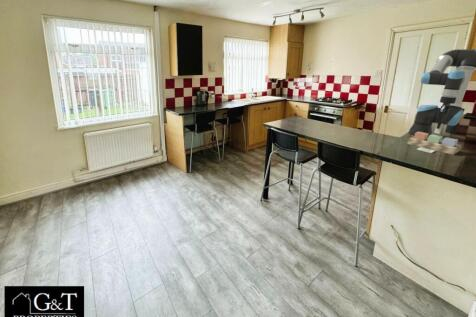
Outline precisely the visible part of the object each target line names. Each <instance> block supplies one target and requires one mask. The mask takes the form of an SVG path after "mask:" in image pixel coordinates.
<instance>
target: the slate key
mask: <svg viewBox="0 0 476 317" xmlns="http://www.w3.org/2000/svg"><path fill="white" fill-rule="evenodd" d="M442 141H443V142H442V145H446V146H450V147H455V146H456V144H457V145H458V142H459V139H458V138H453V137H448V136H446V137H443V138H442Z"/></svg>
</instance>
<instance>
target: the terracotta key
mask: <svg viewBox="0 0 476 317" xmlns="http://www.w3.org/2000/svg"><path fill="white" fill-rule="evenodd" d="M428 134H429V133H424V132H416V133H415V135H413V136H414V139H418V140H423V141H425V140H427V138H428Z"/></svg>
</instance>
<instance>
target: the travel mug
mask: <svg viewBox="0 0 476 317" xmlns="http://www.w3.org/2000/svg"><path fill="white" fill-rule="evenodd" d="M462 110H463V111H464V112H463V114H462V116H461V118H460V120H459V121H458V123H457V124H456V125H454V126H452V125H446V127H445V131H444V132H445V133H446V134H448V133H449V134H457V131H458V129H459V126H460V124H461V121H462V119H463V116H464V113H465V110H466V109H465V108H463V107H462Z"/></svg>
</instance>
